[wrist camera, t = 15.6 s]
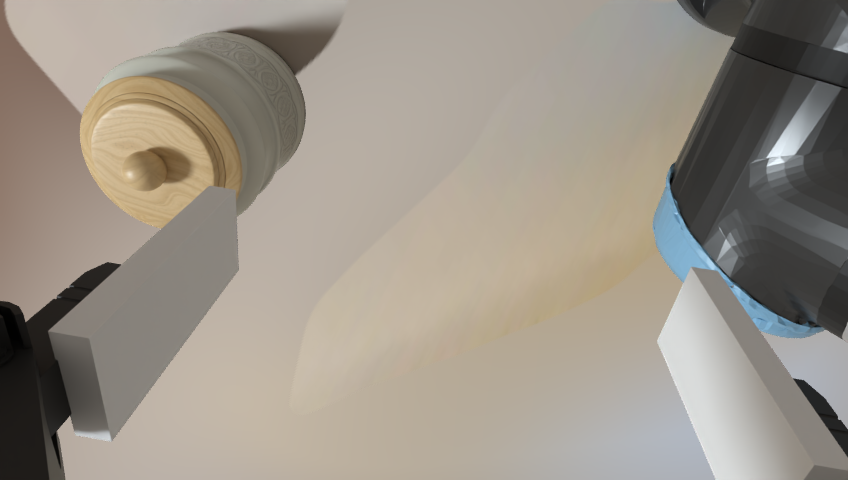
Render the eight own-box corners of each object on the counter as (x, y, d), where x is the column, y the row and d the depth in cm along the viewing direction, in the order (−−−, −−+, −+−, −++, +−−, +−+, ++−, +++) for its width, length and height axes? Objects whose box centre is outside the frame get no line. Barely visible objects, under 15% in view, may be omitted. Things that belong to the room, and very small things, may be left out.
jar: (149, 119, 51) (9, 197, 36) (202, -4, 46) (62, 27, 30) (270, 195, 54) (188, 297, 39) (335, 88, 48) (268, 159, 33)
